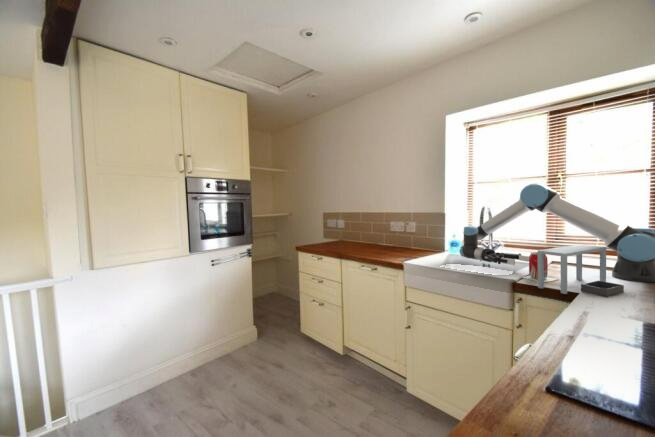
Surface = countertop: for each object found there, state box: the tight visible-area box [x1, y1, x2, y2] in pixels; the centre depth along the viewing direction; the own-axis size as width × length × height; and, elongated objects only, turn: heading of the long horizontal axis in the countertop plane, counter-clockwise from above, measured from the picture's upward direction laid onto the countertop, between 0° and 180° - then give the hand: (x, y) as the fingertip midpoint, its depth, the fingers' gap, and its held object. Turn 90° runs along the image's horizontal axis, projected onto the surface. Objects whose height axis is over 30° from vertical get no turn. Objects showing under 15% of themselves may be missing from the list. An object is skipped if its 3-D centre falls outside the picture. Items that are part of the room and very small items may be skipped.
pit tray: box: [580, 280, 625, 298], centre depth 109 cm, size 12×8×3 cm, turn 112°
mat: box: [521, 275, 559, 284], centre depth 131 cm, size 10×10×1 cm
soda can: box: [528, 251, 549, 279], centre depth 131 cm, size 7×7×12 cm
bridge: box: [537, 244, 607, 295], centre depth 118 cm, size 30×10×16 cm, turn 112°
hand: (523, 260), depth 137 cm, fingers open, 13 cm apart
